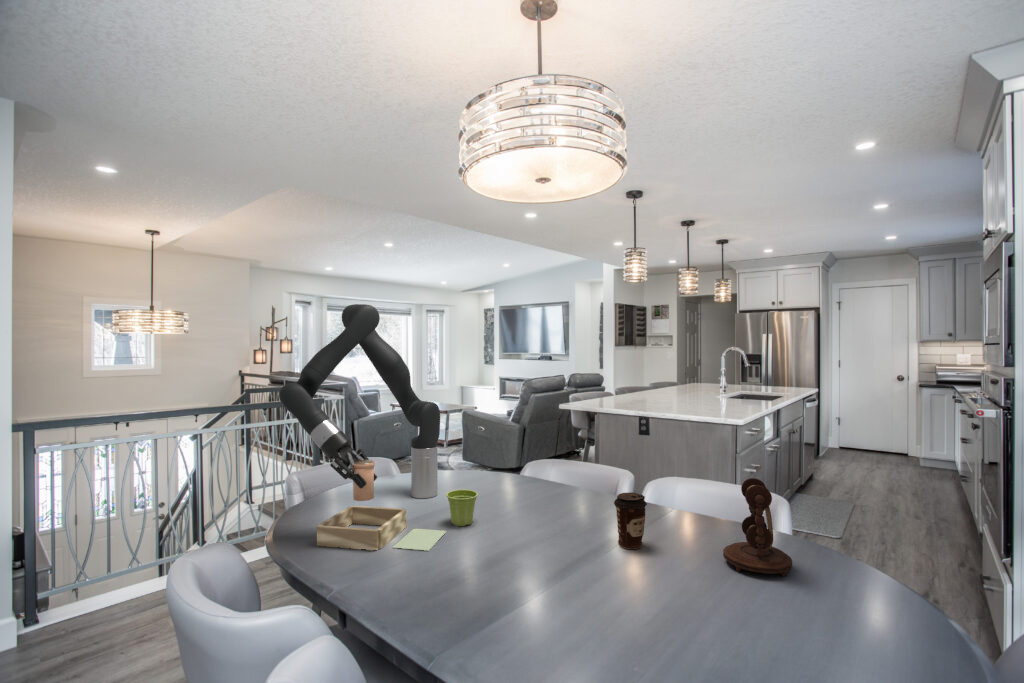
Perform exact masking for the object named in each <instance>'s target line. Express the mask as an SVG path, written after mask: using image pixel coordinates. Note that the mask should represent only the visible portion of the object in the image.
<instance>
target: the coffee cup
mask: <svg viewBox="0 0 1024 683" xmlns="http://www.w3.org/2000/svg"><path fill="white" fill-rule="evenodd" d="M645 499H646V496H645V495H643V494H639V493H637V492H621V493H618V494H617V497H616V499H614V501H613V504H614V506H615V509H616V520H617V533H618V540H617V544H618V546H619V547H620V548H623V549H627V550H637V549H641V548H643V545H644V544H643V537H644V534H645V525H646V524H645V523H646V506H647V505H648V503H647V502H646V500H645Z"/></svg>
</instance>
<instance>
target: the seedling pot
mask: <svg viewBox="0 0 1024 683" xmlns="http://www.w3.org/2000/svg"><path fill="white" fill-rule="evenodd" d="M354 463H355V464H354V468H355V469H356V471H357V474H358V473H359V475H360V476H361V477H362V478H363V479H364V480H365V481H366V483H367V484H366V485H365V486H364V487H363V488H359V487H358V486H357V484H356V483H355V482H354V481H353V480H352V486H353V487H352V491H353V492H352V494H353V495H352V500H353V501H356V502H364V501H365V502H366V501H371V500H373V499H374V498H375V481H374V474H375V469H374V468H375V466H376V465H375V460H372V459H369V460H359V461H356V462H354Z"/></svg>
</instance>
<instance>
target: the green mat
mask: <svg viewBox="0 0 1024 683" xmlns="http://www.w3.org/2000/svg"><path fill="white" fill-rule="evenodd" d="M447 532H448V531H447V530H441V529H440V530H439V529H426V528H425V529H424V528H413V529H412V530H411V531H409V532H408V533H407V534H406V535H405V536H404V537H403V538H401V539H400V540H399V541H398V542H397V543H396V544H395V545H394V546H392V549H393V548H402V549H401V550H405V549H413V550H412V551H418V550H424V551H423V552H430V551H431V550H432V548H434V547H435V546H436V544H438V543H439V541H440V540H441V539H442V538H443V537H444V536H443V535H444V534H445V533H446V534H447ZM446 534H445V535H446ZM442 536H443V537H442ZM441 537H442V538H441ZM440 538H441V539H440ZM439 539H440V540H439ZM438 540H439V541H438ZM430 549H431V550H430ZM429 550H430V551H429Z"/></svg>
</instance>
